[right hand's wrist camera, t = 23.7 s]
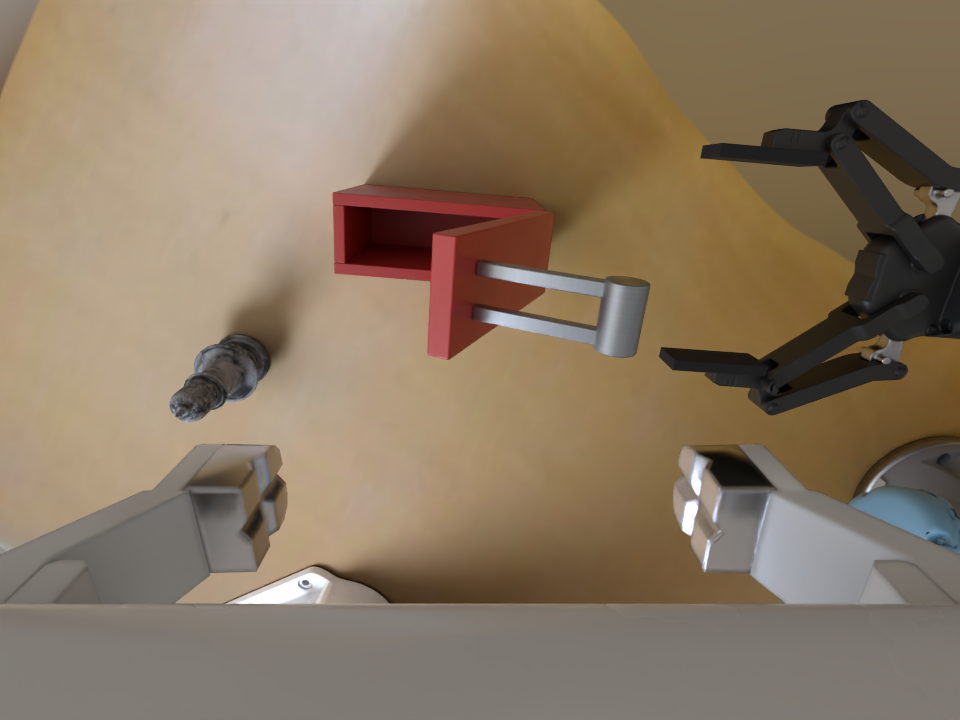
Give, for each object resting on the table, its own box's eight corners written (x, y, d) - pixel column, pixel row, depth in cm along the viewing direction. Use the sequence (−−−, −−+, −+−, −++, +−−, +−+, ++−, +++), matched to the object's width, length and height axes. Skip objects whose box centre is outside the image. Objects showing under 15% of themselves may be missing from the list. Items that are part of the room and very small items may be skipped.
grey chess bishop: (217, 323, 50) (141, 372, 39) (277, 343, 51) (220, 396, 39) (207, 375, 52) (133, 436, 41) (265, 393, 53) (208, 458, 41)
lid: (426, 355, 24) (621, 402, 21) (431, 232, 22) (649, 264, 19) (529, 290, 38) (657, 313, 35) (538, 210, 36) (676, 227, 32)
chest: (364, 249, 47) (334, 273, 38) (364, 184, 45) (332, 192, 36) (525, 262, 48) (536, 289, 38) (532, 198, 46) (545, 210, 36)
